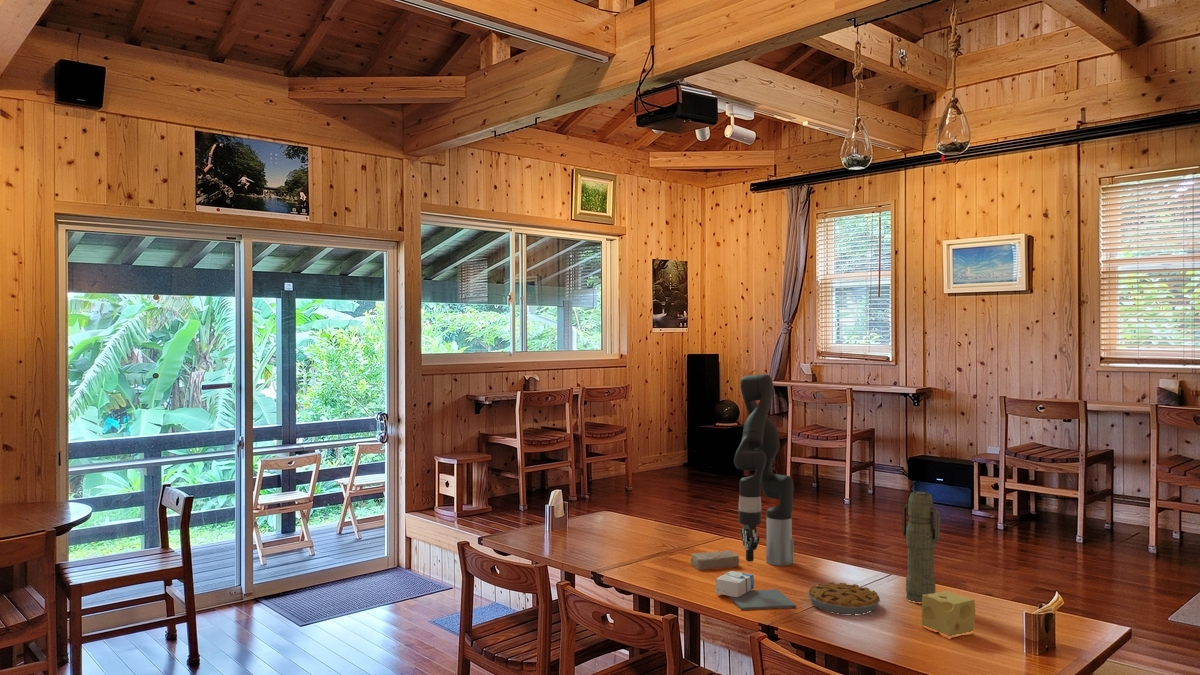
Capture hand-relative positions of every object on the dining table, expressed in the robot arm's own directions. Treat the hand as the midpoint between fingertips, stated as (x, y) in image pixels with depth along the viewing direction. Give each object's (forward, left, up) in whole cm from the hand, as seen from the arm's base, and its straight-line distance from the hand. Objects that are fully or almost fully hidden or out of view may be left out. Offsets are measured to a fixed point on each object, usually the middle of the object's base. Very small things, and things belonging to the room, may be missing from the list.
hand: (749, 560), depth 263 cm
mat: (0, +10, -10) cm, 14 cm away
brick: (+3, -31, -11) cm, 33 cm away
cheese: (-45, +42, -11) cm, 63 cm away
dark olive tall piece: (-52, +16, -10) cm, 56 cm away
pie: (-25, +17, -11) cm, 32 cm away
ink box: (+2, -3, -7) cm, 8 cm away
